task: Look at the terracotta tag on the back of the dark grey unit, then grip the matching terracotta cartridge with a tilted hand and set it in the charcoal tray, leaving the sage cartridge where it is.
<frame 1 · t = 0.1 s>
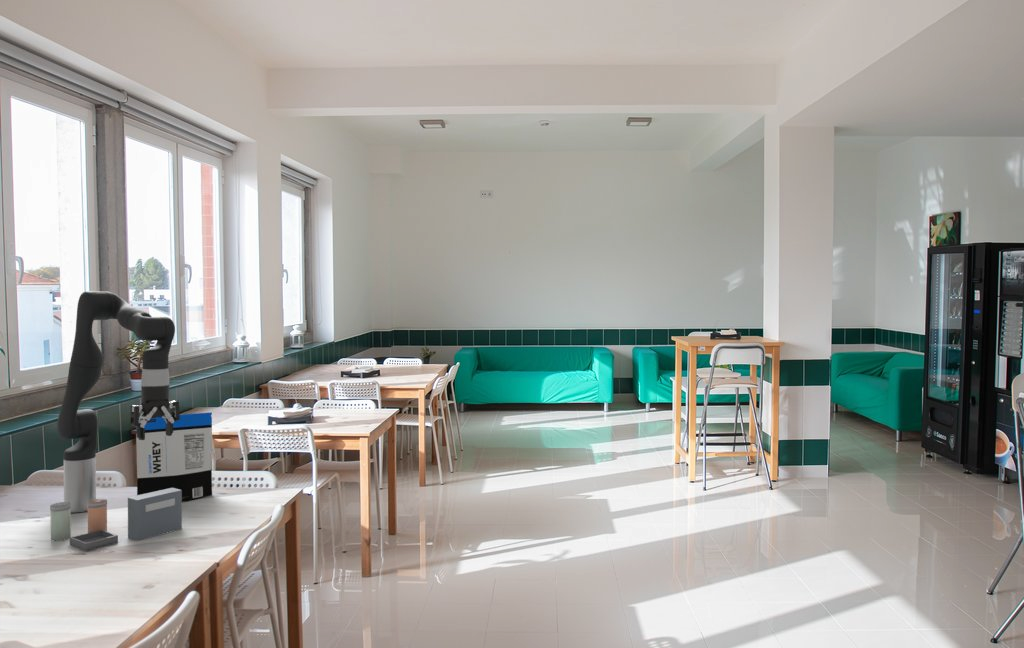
hand: (155, 437, 219), 29 cm above the table, tool pointing down, fingers open, 8 cm apart
protein powder: (175, 500, 257), on the table
sage cartridge: (60, 538, 216), on the table
dark grey unit: (155, 533, 221), on the table
charcoal tray: (94, 543, 211), on the table
terracotta cartridge: (97, 534, 220), on the table
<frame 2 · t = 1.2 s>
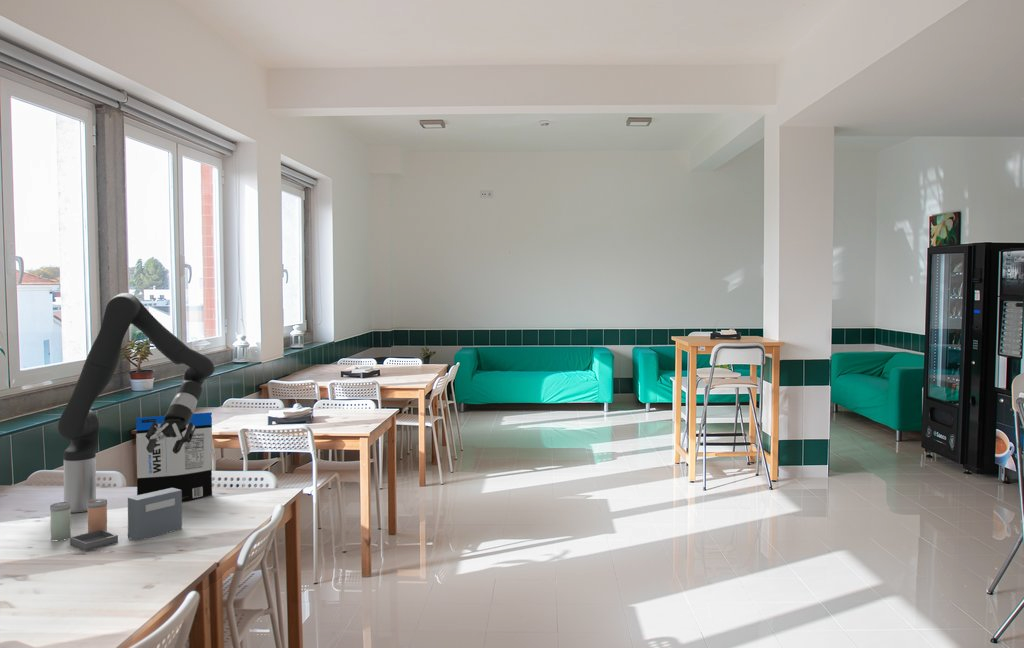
hand: (161, 451, 230), 23 cm above the table, tool tilted 45°, fingers open, 8 cm apart
nothing on the table moved.
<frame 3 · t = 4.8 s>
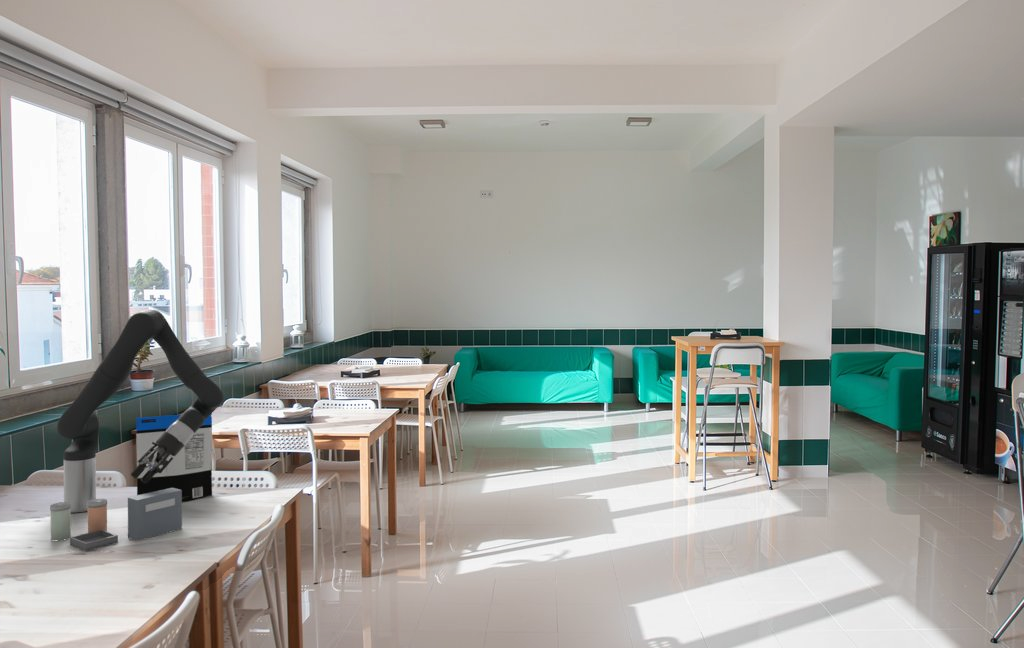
hand: (138, 479, 227), 15 cm above the table, tool tilted 45°, fingers open, 8 cm apart
nothing on the table moved.
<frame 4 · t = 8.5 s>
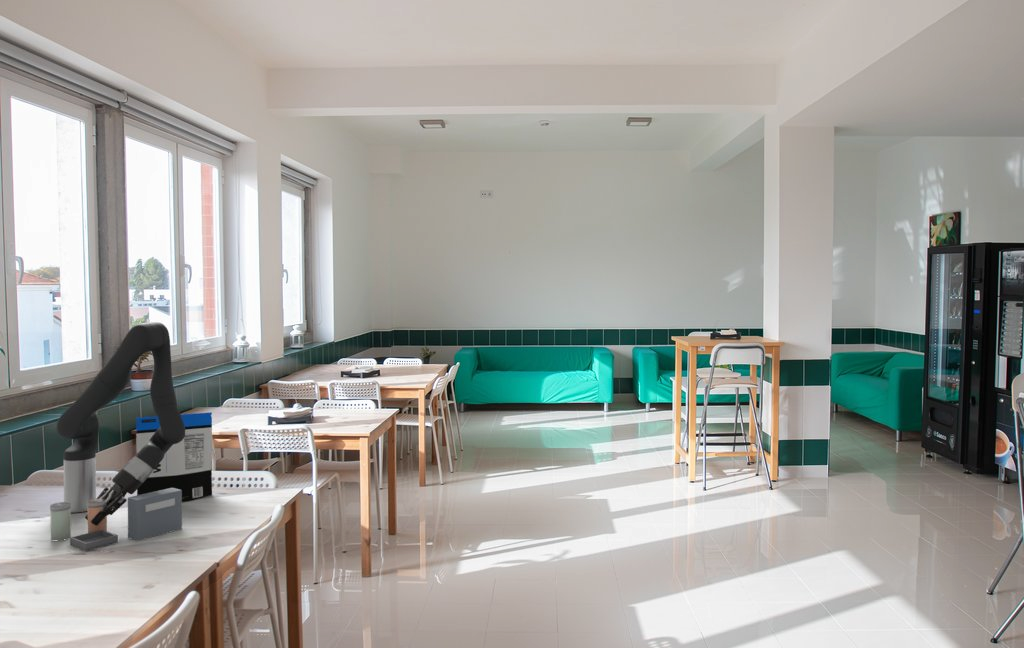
hand: (90, 521, 218), 4 cm above the table, tool tilted 45°, fingers closed on terracotta cartridge, 5 cm apart
terracotta cartridge: (97, 534, 220), on the table, touching gripper
everything else where it was.
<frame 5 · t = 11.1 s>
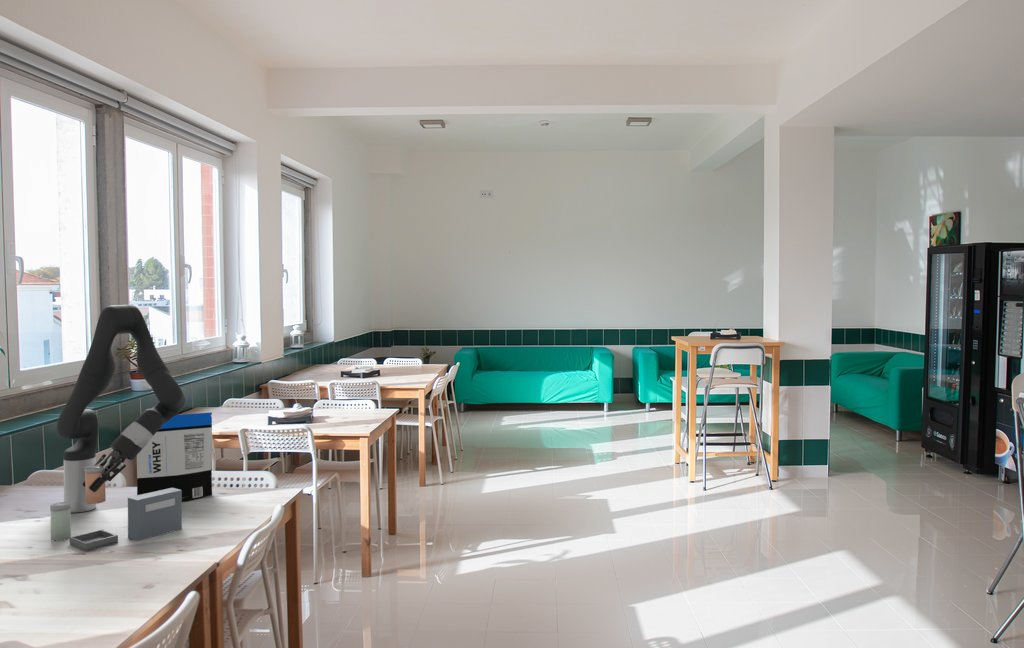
hand: (88, 488, 209), 16 cm above the table, tool tilted 45°, fingers closed on terracotta cartridge, 5 cm apart
terracotta cartridge: (95, 501, 211), point 12 cm above the table, touching gripper
everything else where it was.
when the fingers open (6 cm above the table, at t = 14.0 s): terracotta cartridge drops 1 cm, resting on charcoal tray.
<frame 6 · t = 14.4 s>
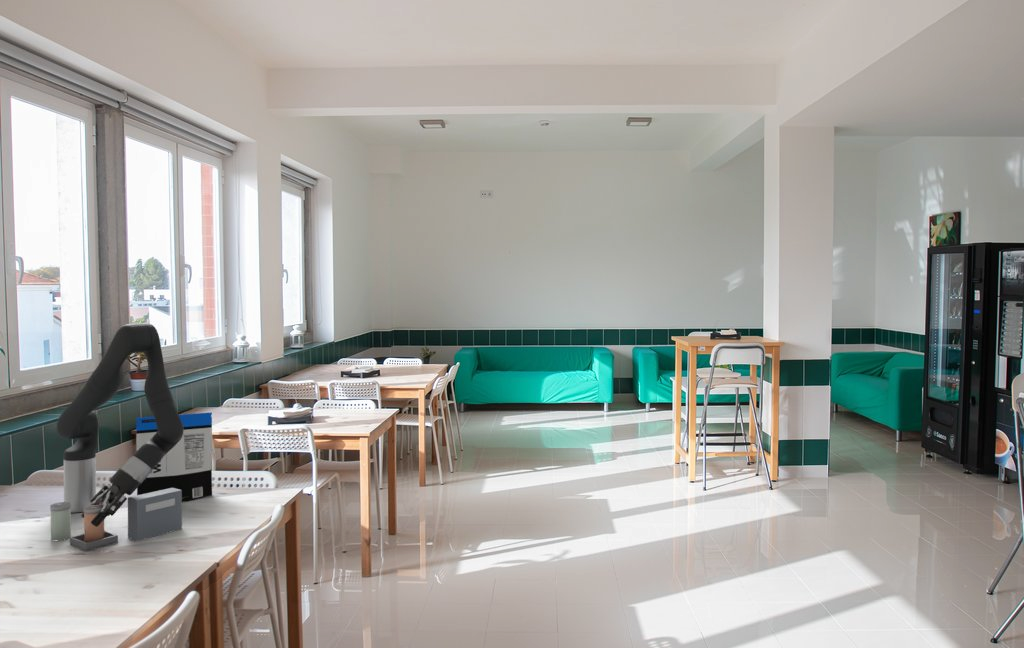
hand: (88, 521, 210), 7 cm above the table, tool tilted 45°, fingers open, 8 cm apart
terracotta cartridge: (94, 541, 211), point 1 cm above the table, touching charcoal tray
everything else where it was.
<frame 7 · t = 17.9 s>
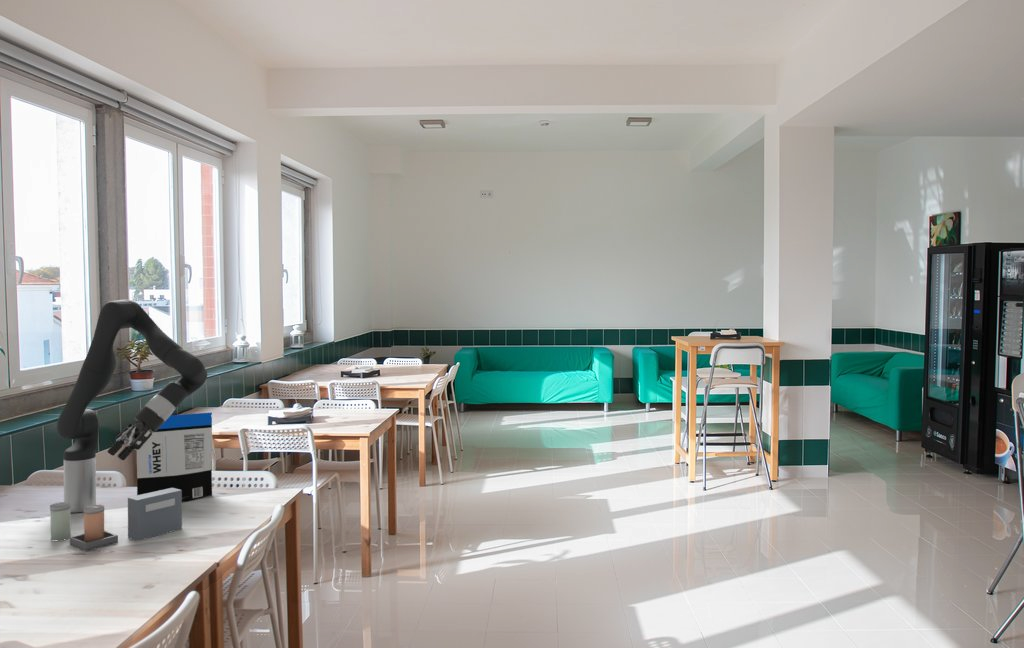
hand: (114, 456, 214), 25 cm above the table, tool tilted 45°, fingers open, 8 cm apart
nothing on the table moved.
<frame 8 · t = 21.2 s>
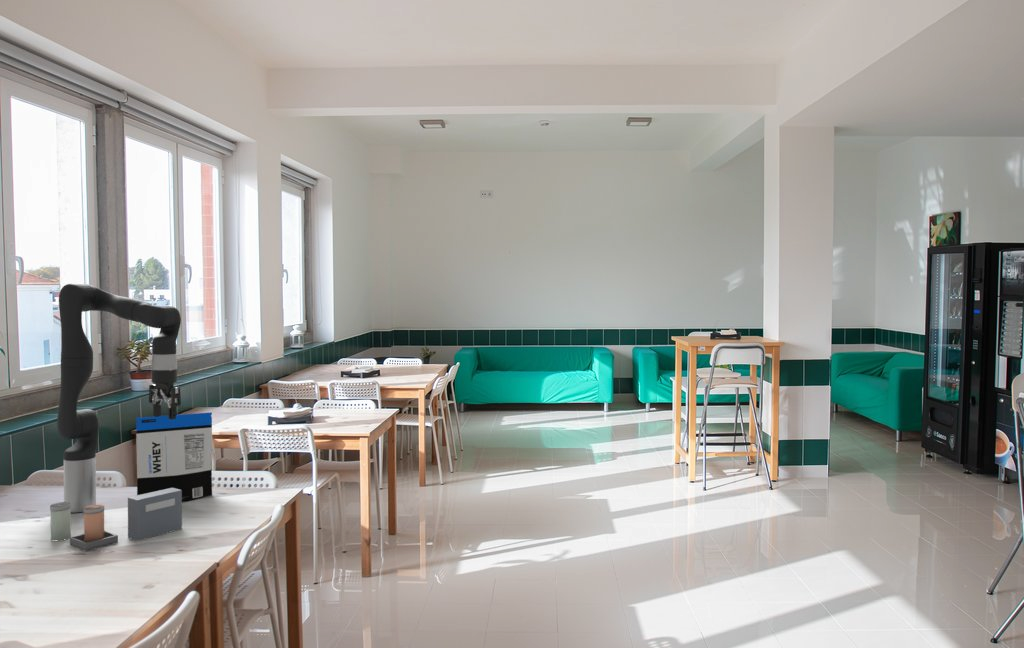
hand: (164, 417, 237), 32 cm above the table, tool pointing down, fingers open, 8 cm apart
nothing on the table moved.
at the end: terracotta cartridge 0.1 cm off-centre on the charcoal tray, point 0.6 cm above the charcoal tray's base; terracotta cartridge tilted 0°; sage cartridge moved 0.0 cm from its start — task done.
